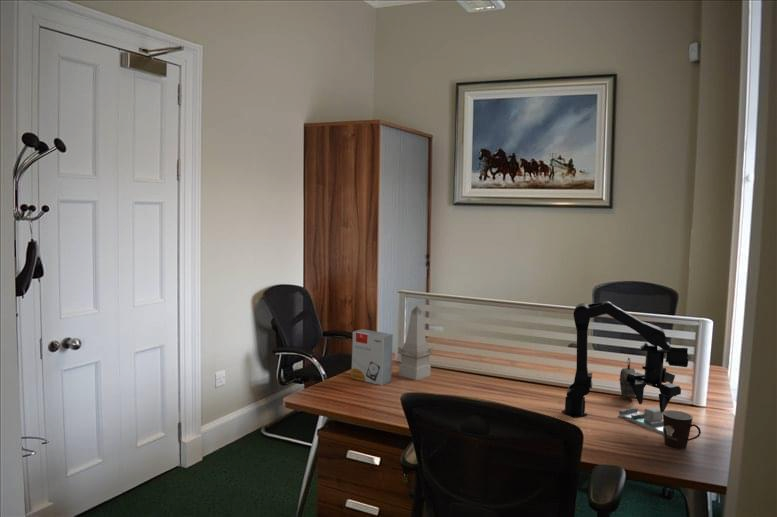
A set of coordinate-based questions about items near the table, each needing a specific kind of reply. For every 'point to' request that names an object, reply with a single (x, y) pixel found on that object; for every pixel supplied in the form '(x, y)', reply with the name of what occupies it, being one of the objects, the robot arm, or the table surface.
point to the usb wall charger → (652, 414)
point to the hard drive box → (371, 356)
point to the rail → (641, 420)
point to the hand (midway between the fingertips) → (651, 408)
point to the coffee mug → (677, 429)
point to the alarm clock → (625, 387)
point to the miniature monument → (415, 349)
